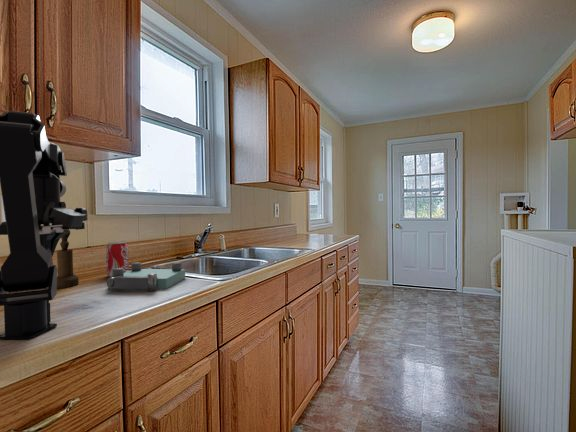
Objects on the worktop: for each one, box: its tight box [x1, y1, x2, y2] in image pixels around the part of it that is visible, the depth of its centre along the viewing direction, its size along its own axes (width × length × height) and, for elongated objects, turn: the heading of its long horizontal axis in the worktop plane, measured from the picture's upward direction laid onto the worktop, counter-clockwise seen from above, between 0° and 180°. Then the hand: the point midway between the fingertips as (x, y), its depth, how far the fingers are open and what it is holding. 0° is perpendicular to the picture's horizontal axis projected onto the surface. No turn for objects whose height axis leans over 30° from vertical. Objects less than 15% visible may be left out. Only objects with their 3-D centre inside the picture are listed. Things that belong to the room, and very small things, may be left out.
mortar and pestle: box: [56, 229, 79, 289], centre depth 96 cm, size 7×6×18 cm
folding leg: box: [106, 273, 158, 292], centre depth 88 cm, size 14×3×4 cm, turn 87°
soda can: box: [105, 241, 130, 278], centre depth 109 cm, size 7×7×12 cm
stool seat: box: [107, 261, 186, 290], centre depth 98 cm, size 14×18×6 cm
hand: (47, 261), depth 75 cm, fingers closed
